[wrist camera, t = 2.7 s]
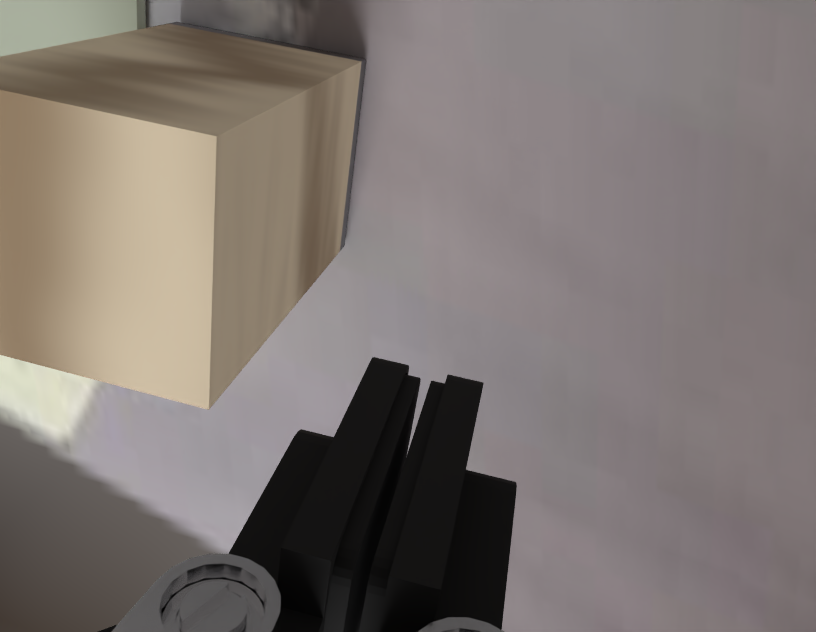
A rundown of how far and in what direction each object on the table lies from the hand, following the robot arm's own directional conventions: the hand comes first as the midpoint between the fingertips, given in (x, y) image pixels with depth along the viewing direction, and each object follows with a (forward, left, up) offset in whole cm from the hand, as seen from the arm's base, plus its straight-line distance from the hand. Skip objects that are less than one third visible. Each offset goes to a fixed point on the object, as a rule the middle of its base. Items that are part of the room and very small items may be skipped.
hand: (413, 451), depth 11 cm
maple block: (+8, 0, -13) cm, 16 cm away
